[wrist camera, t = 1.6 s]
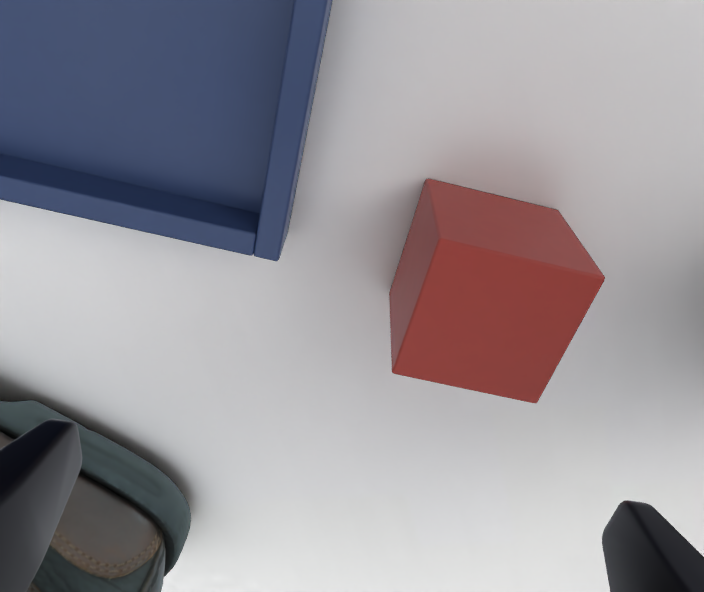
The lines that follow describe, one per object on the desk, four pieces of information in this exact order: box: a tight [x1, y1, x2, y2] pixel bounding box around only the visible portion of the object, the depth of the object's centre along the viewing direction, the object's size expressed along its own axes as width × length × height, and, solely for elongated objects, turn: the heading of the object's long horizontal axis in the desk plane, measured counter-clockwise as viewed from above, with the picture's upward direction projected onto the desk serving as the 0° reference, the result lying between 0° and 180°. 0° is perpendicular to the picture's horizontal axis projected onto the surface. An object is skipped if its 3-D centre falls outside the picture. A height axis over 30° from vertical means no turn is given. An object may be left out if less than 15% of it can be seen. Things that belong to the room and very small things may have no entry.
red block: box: [389, 179, 605, 403], centre depth 17 cm, size 4×4×4 cm
